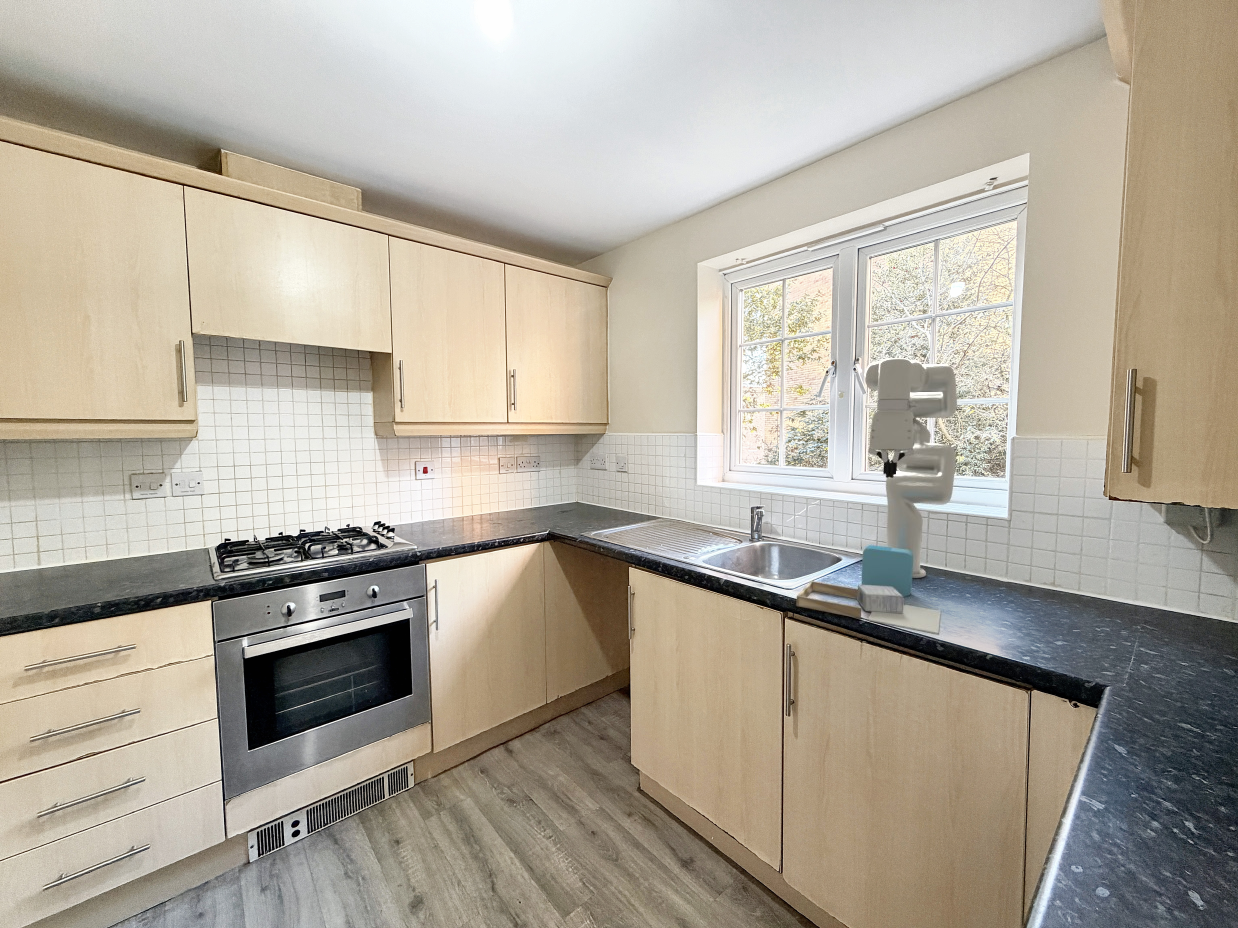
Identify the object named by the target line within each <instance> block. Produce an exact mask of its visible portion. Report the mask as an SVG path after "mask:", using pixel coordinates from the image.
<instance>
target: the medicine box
mask: <svg viewBox="0 0 1238 928" xmlns="http://www.w3.org/2000/svg"><path fill="white" fill-rule="evenodd" d="M857 589H858V595H857V602H858V603H859V604H860V607H862V609H863V610H864V611H865V612H872V611H874V612H890V613H903V607H904V605H905V604H904V601H905V600H904V597H903V596H902V595H901V594H900V593H899V592H898V591H897V590H896V589H895V588H894V587H891V586H875V585H861V584H858V585H857Z"/></svg>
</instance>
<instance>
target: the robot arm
mask: <svg viewBox="0 0 1238 928" xmlns="http://www.w3.org/2000/svg"><path fill="white" fill-rule="evenodd" d="M953 369H954V368H953V367H952V366H951V365H949V364H945V363H943V364H942V363H939V364H922V363H921V362H920V361H918V360H914V359H913V360H910V359H909V358H903V357H898V358H897V357H896V358H885V359H882V360H881V361H877V362H872V363H869V365H868V366H867V368H866V370H865V373H864V381H865V384H866V387H867V388H868V389H869V390H871V391H877V398H876V399H877V401H876V411H875V412H874V413H873V417H872V418H871V419H872V420H871V426H870V433H869V447H868V451H867V452H868V454H869V455H872V456H878V458H879V459H881V461H882V462H883V468H882V469H883V471H882V472H883V473H882V475H885V478H886V479H885V491H886V501H887V516H886V517H887V519H886V520H887V522H886V524H887V525H886V539H885V541H886V542H885V547H890V548H898V549H906V550H910V551H911V552H912V553H913V556H914V558H913V576H912V579H920V578H924V577H926V573H927V572H926V571H925V570H924V569H923V568H921V558H922V538H923V522H924V521H923V515H922V513H921V512H920V511H919V509H918V508H917V506H915V504H921V505H922V504H923V505H924V504H925V505H935V506H937V505H938V506H942V505H943V506H944V505H947V504H948V503H949V502H950V501H951V498H952V495H953V492H954V491H953V490H954V489H953V488H954V481H955V472H956V462H957V461H956V460H957V459H956V458H957V457H956V451H955V450H954V448H953V447H952V446H951V445H949V444H945V443H930V442H931V438H932V437H931V436H932V435H931V432H930V430H929V429H928V428H927V426H925V424H923V423H922V422H921V421H920V420H918V419H945V418H951V417H952V416H954V415H955V413H956V412H957V407H958V395H957V383H956V381H957V380H956V375H955V371H954V370H953ZM889 451H892V452H893V451H894V452H893V457H892V459H889Z"/></svg>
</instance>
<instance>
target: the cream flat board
mask: <svg viewBox="0 0 1238 928" xmlns="http://www.w3.org/2000/svg"><path fill="white" fill-rule="evenodd" d="M867 620H868V622H869V621H870V622H874V623H880V624H884V625H890V626H894V627H900V628H905V629H909V630H915V631H920V632H924V633H925V632H926V633H929V634H930V633H931V634H936V635H939V631H940V620H941V610H937V609H932V608H926V607H925V608H924V607H920V606H915V605H908V604H904V607H903V613H890V612H874V611H870V615H869V617H868V619H867Z"/></svg>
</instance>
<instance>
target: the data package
mask: <svg viewBox="0 0 1238 928" xmlns="http://www.w3.org/2000/svg"><path fill="white" fill-rule="evenodd" d="M913 558H914V556H913V553H912V552H911V551H910V550H906V549H898V548H890V547H886V546H881V545H872V544H871V545H867V546H866V547H865V548H864V549H863V551H862V561H861V562H862V565H861V584H860V585H875V586H891V587H894V588H895V589H896V590H897V591H898V592H899V593H900V594H901V595H902V596H903V598H904V597H909V596H910V595H911V594H912V593H911V592H912V589H913V578H912V576H913Z"/></svg>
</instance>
